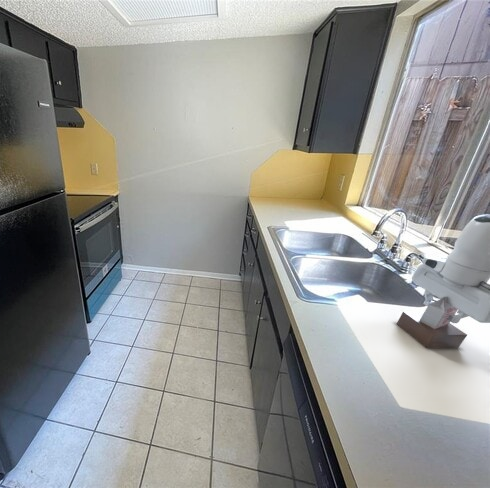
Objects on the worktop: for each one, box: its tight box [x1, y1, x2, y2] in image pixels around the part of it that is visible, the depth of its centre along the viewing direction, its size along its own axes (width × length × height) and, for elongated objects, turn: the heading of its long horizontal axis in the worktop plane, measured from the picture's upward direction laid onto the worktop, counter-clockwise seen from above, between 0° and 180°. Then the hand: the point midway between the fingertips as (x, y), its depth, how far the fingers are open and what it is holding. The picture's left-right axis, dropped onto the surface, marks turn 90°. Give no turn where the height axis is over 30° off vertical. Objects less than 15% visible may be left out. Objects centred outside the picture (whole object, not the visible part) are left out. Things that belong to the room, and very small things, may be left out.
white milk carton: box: [420, 296, 458, 329], centre depth 75 cm, size 4×7×10 cm, turn 109°
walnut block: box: [396, 311, 468, 349], centre depth 78 cm, size 10×10×5 cm
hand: (439, 313), depth 76 cm, fingers open, 6 cm apart
